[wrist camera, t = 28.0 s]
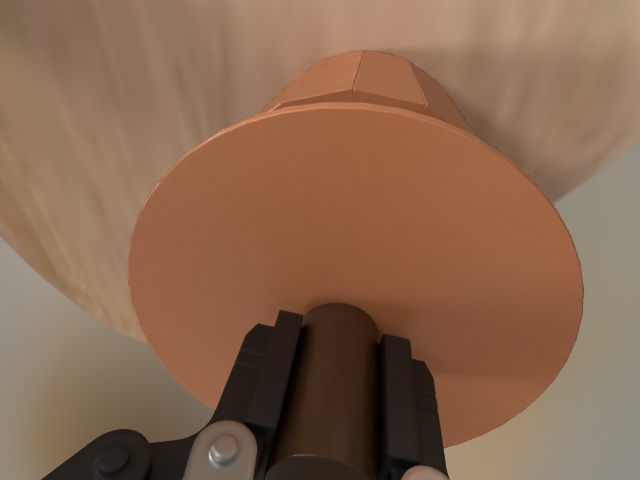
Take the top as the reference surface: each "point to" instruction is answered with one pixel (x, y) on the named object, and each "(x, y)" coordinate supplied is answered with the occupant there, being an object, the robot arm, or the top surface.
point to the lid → (357, 273)
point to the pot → (370, 86)
